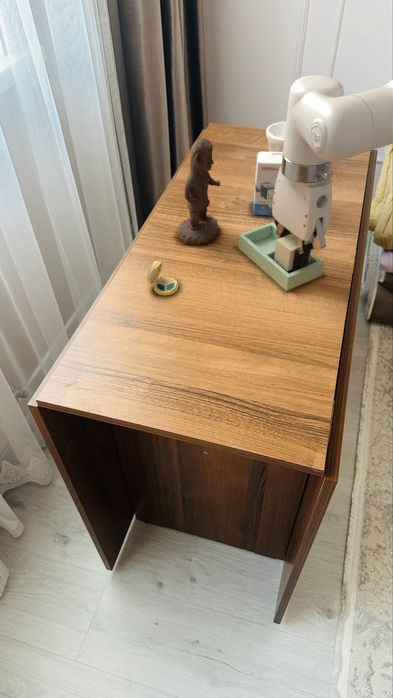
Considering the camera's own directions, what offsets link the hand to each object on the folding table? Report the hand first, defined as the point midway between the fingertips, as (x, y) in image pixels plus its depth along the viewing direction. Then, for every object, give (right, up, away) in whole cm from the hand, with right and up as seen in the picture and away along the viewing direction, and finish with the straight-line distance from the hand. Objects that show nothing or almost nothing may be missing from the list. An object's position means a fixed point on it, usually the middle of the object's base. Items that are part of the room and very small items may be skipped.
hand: (291, 259), depth 91 cm
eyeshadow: (-23, -5, 0) cm, 24 cm away
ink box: (-1, +14, +16) cm, 21 cm away
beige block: (0, 0, 0) cm, 0 cm away
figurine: (-17, +7, +11) cm, 21 cm away
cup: (+4, +27, +29) cm, 39 cm away
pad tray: (-2, 0, +4) cm, 4 cm away
